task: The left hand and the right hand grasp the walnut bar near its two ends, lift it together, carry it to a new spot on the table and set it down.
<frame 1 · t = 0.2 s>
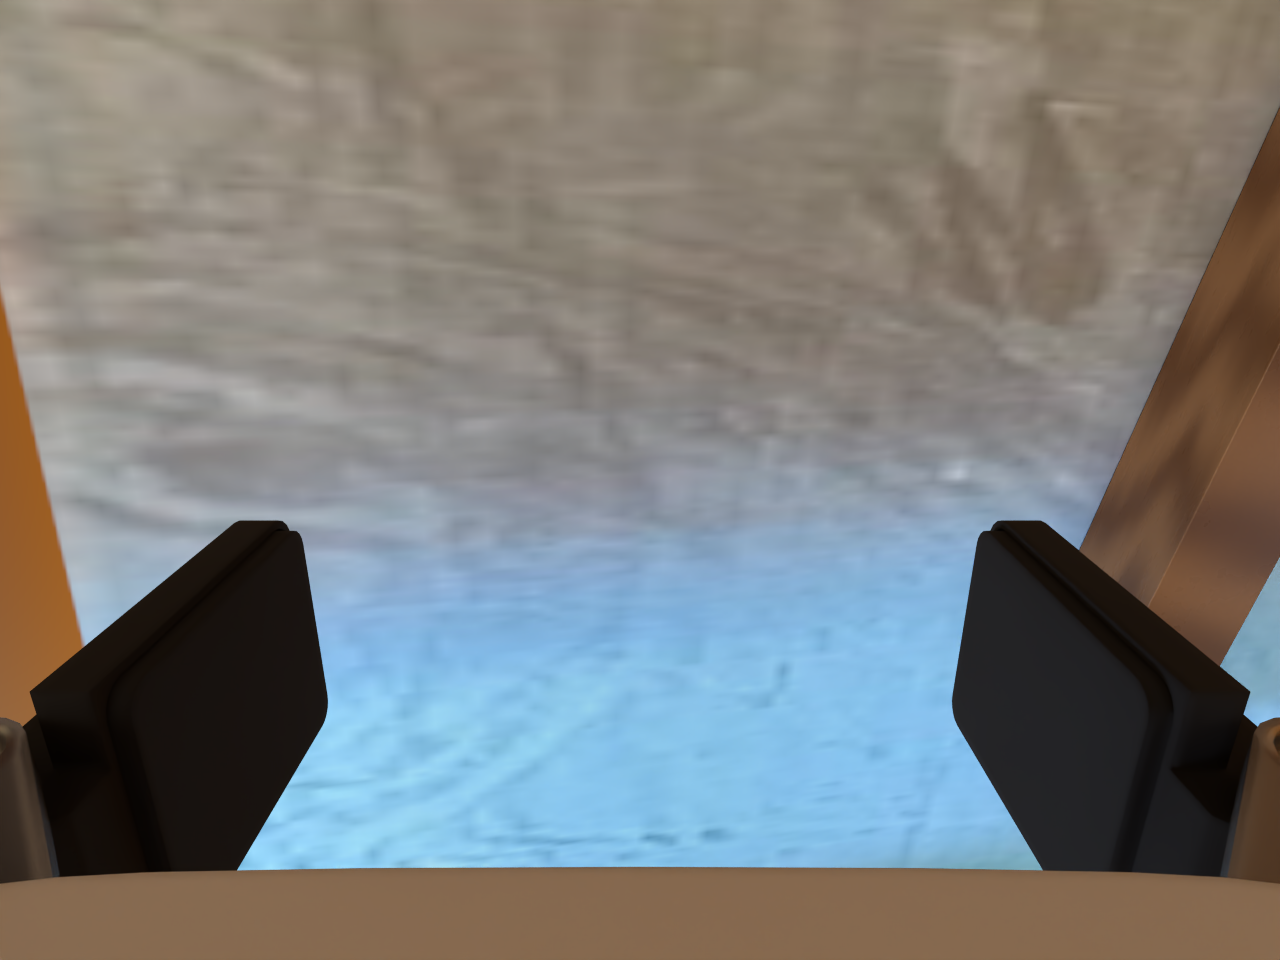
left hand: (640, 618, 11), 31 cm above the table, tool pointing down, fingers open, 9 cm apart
bar: (1226, 334, 41), on the table
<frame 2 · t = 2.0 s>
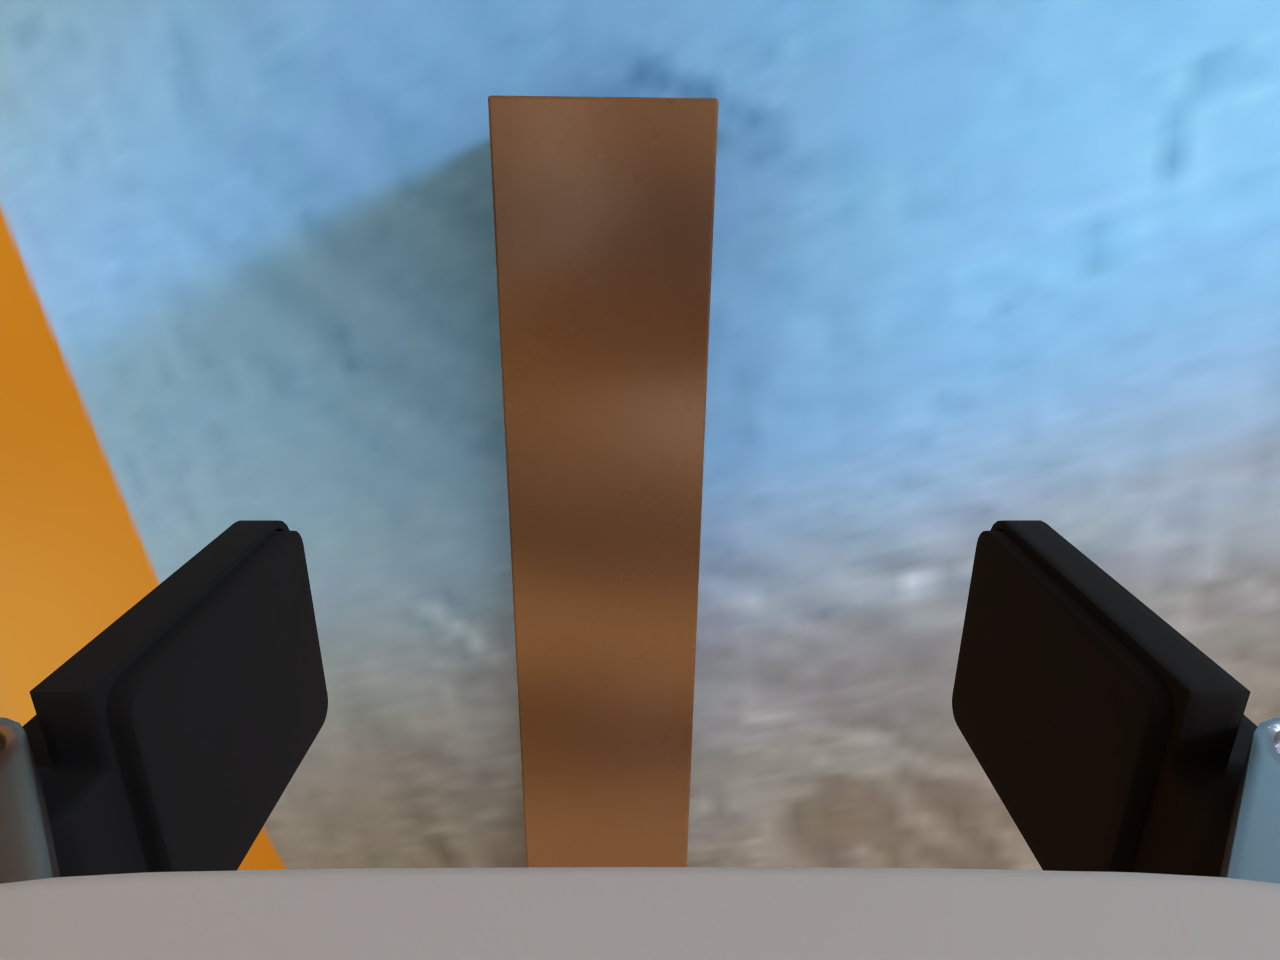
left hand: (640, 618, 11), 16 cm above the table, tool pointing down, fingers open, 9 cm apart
bar: (614, 802, 32), on the table
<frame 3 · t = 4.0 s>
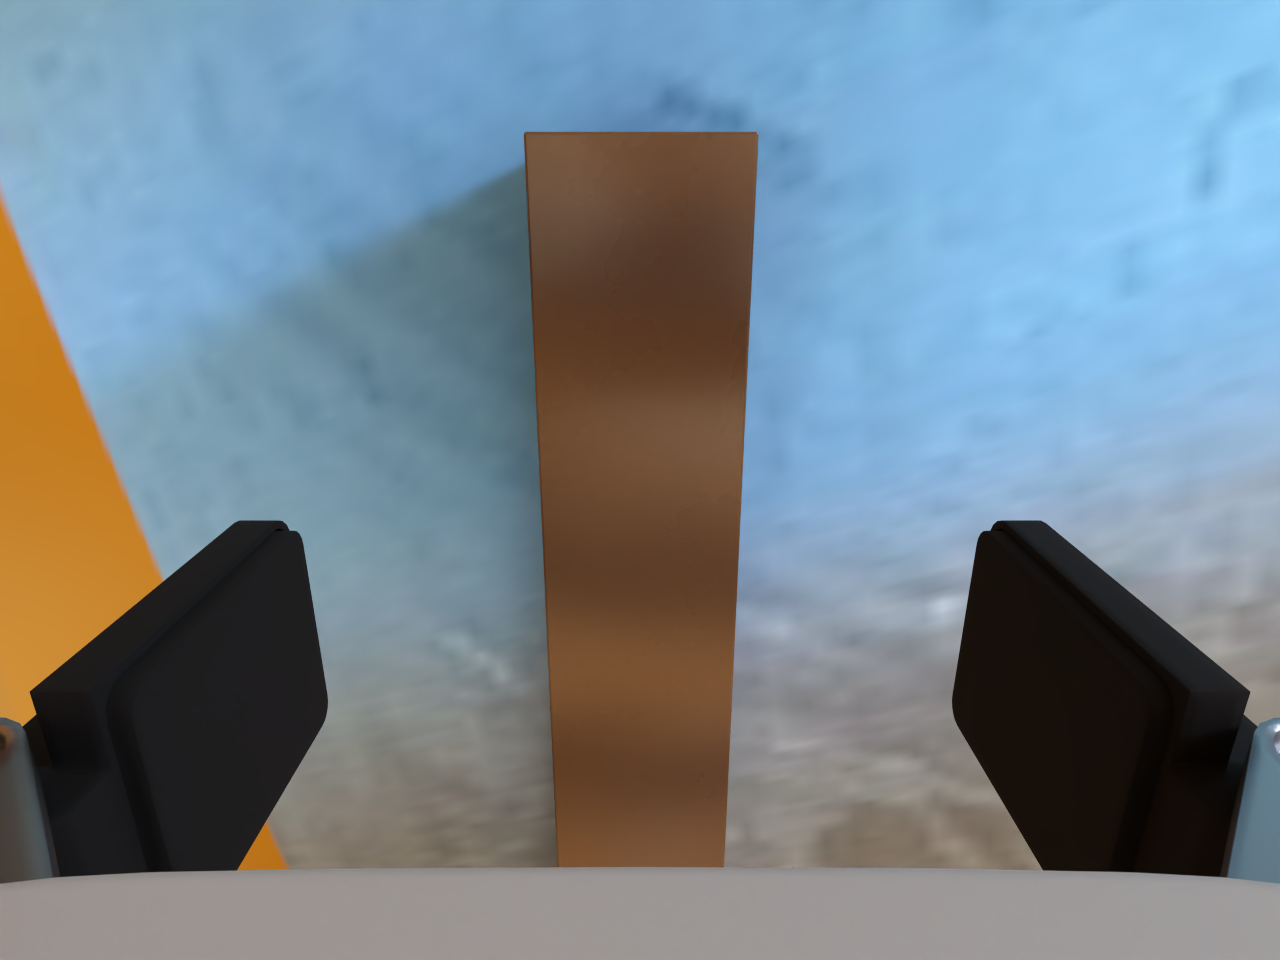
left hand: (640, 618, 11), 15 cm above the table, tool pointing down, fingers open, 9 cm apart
bar: (640, 832, 31), on the table, touching right hand
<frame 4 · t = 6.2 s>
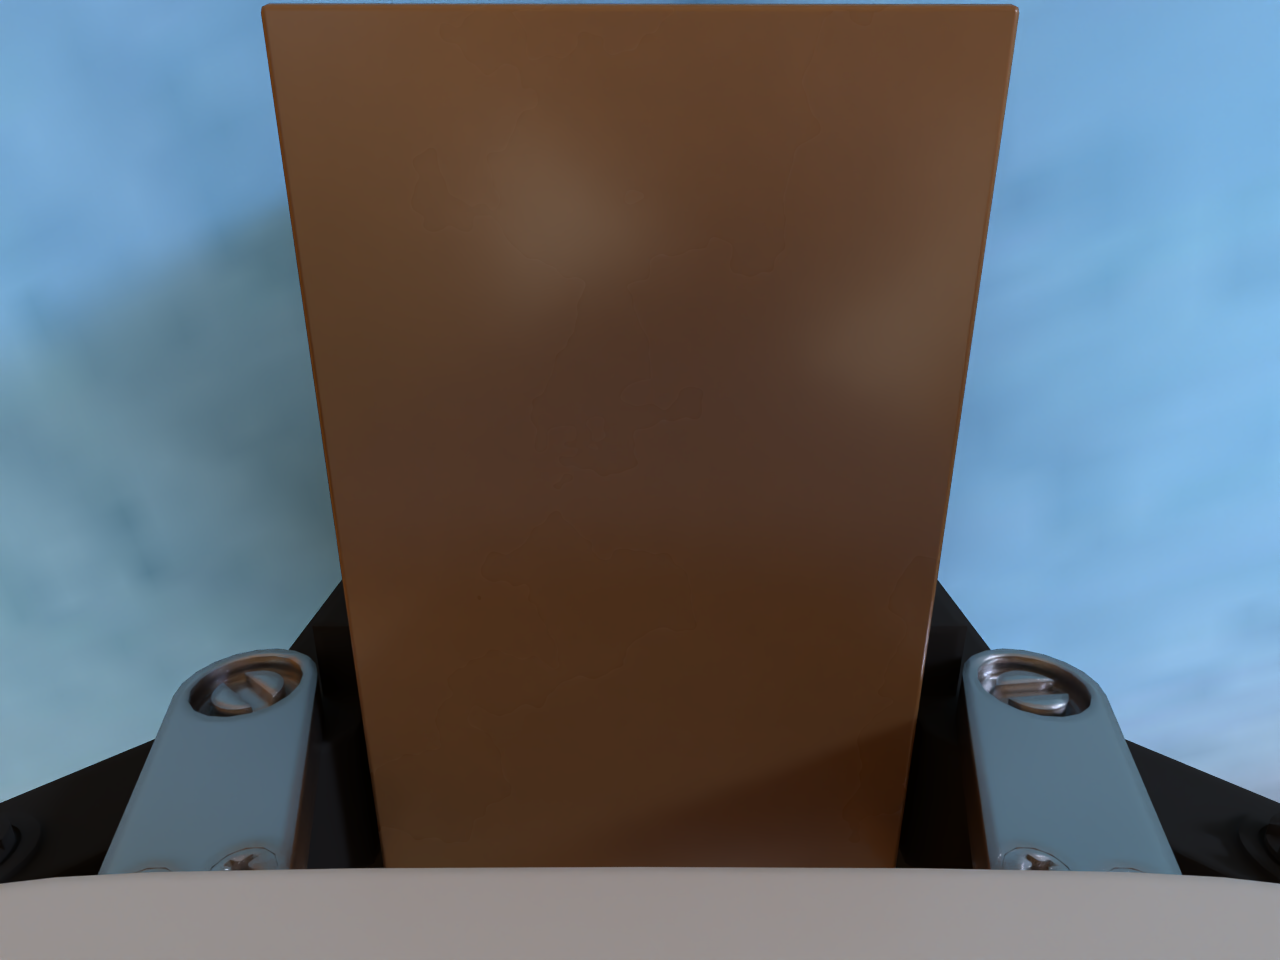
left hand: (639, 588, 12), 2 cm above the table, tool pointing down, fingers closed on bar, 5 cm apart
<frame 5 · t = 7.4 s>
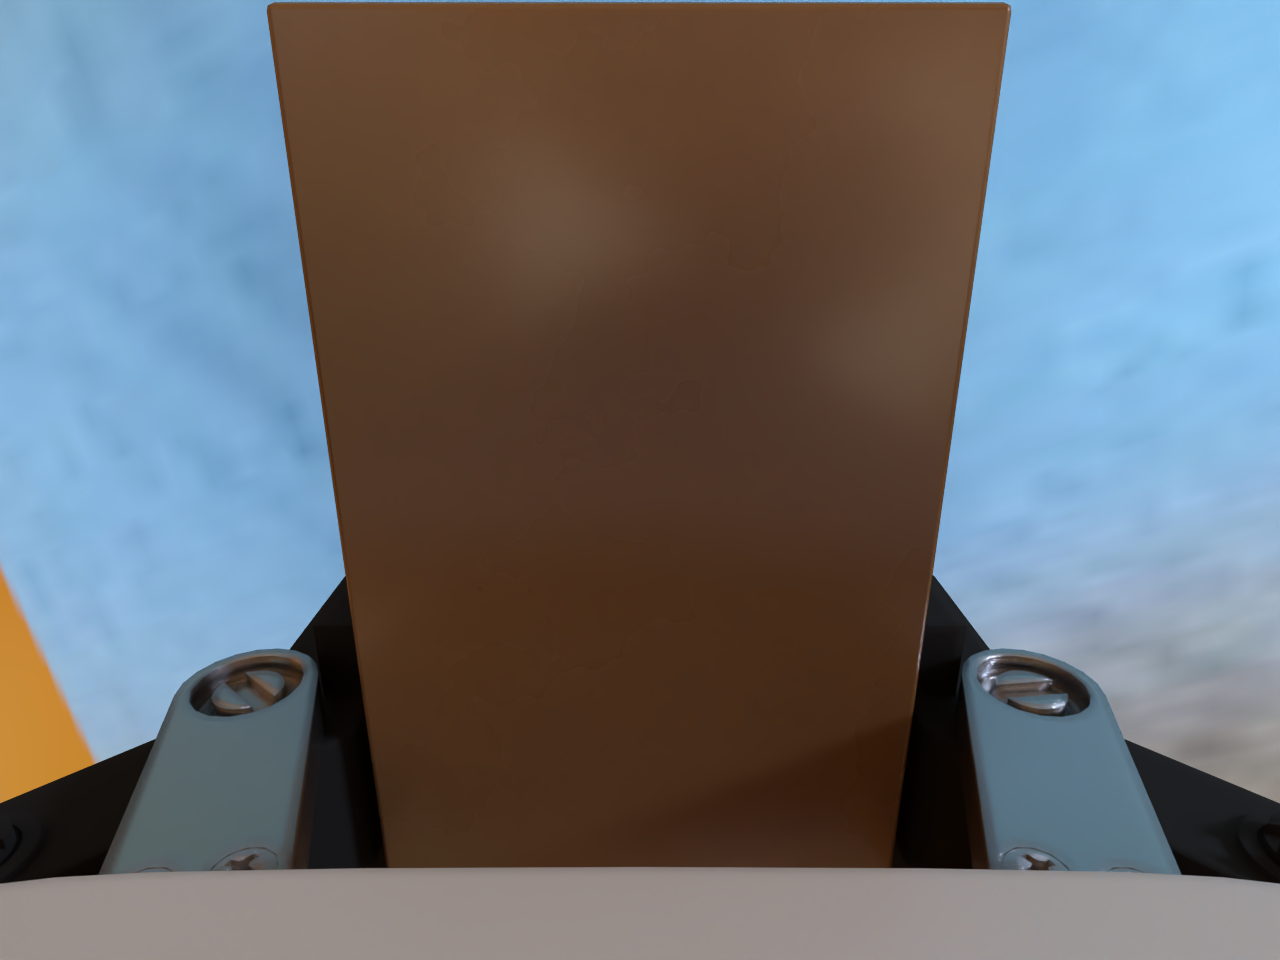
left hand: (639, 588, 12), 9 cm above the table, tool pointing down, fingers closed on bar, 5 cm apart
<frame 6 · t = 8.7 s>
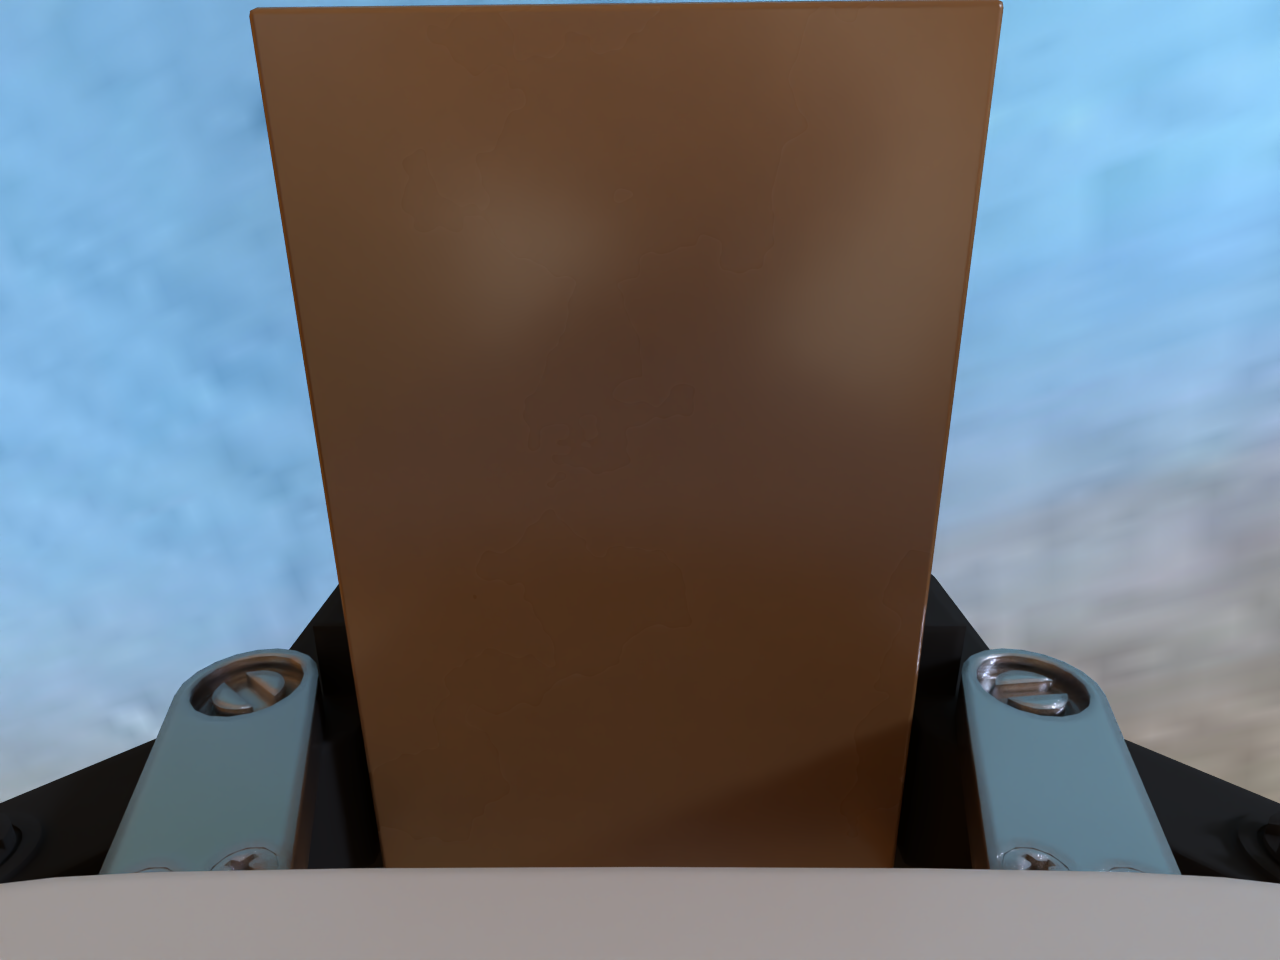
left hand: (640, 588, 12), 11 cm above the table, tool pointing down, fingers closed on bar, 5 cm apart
when the left hand's fingers open (3 cm above the table, at t = 11.1 s): bar drops 1 cm, on the table.
when the right hand's fingers open (4 cm above the table, at t = 11.1 s): bar drops 1 cm, on the table.
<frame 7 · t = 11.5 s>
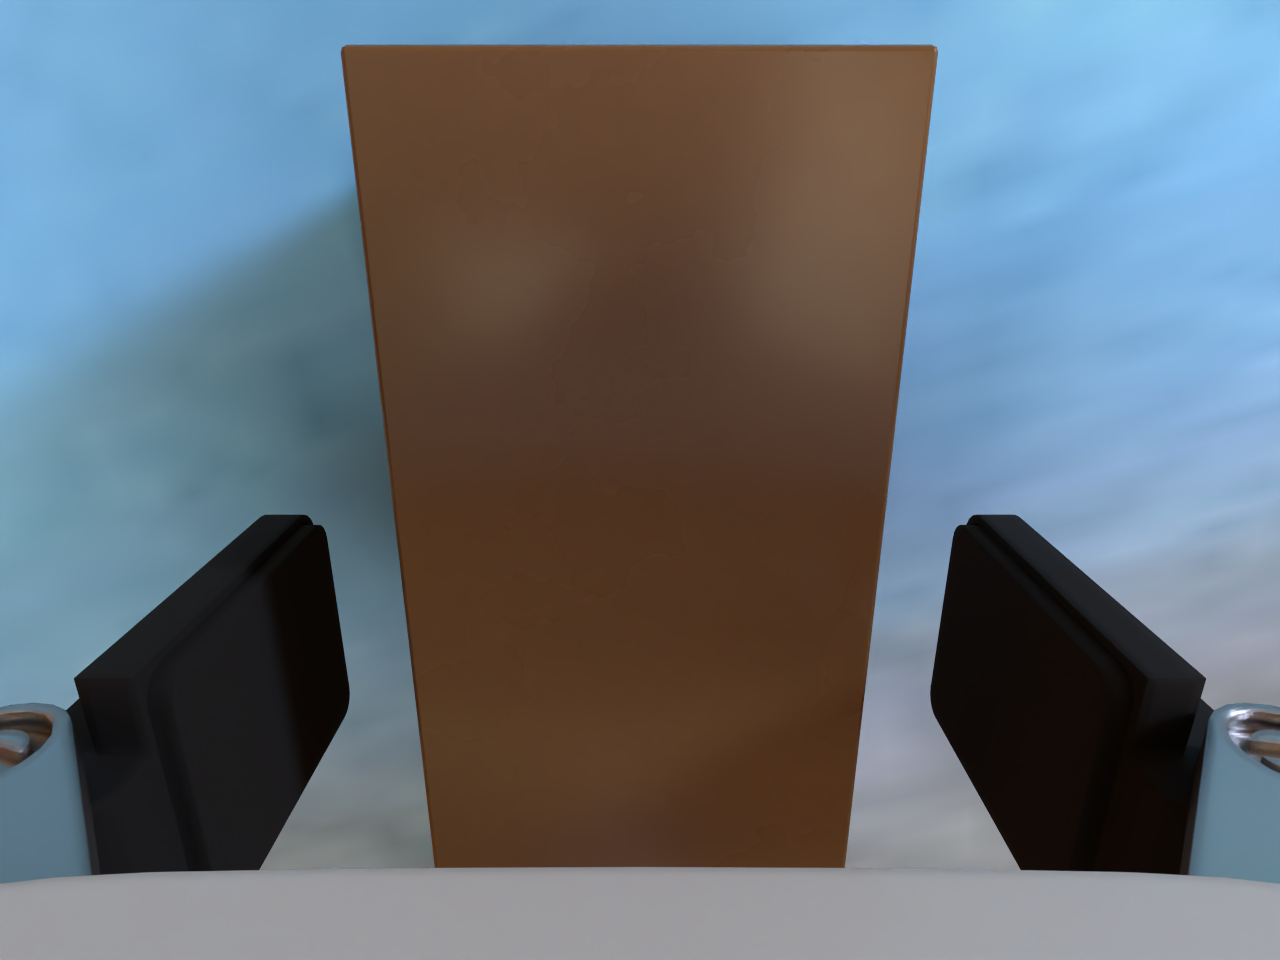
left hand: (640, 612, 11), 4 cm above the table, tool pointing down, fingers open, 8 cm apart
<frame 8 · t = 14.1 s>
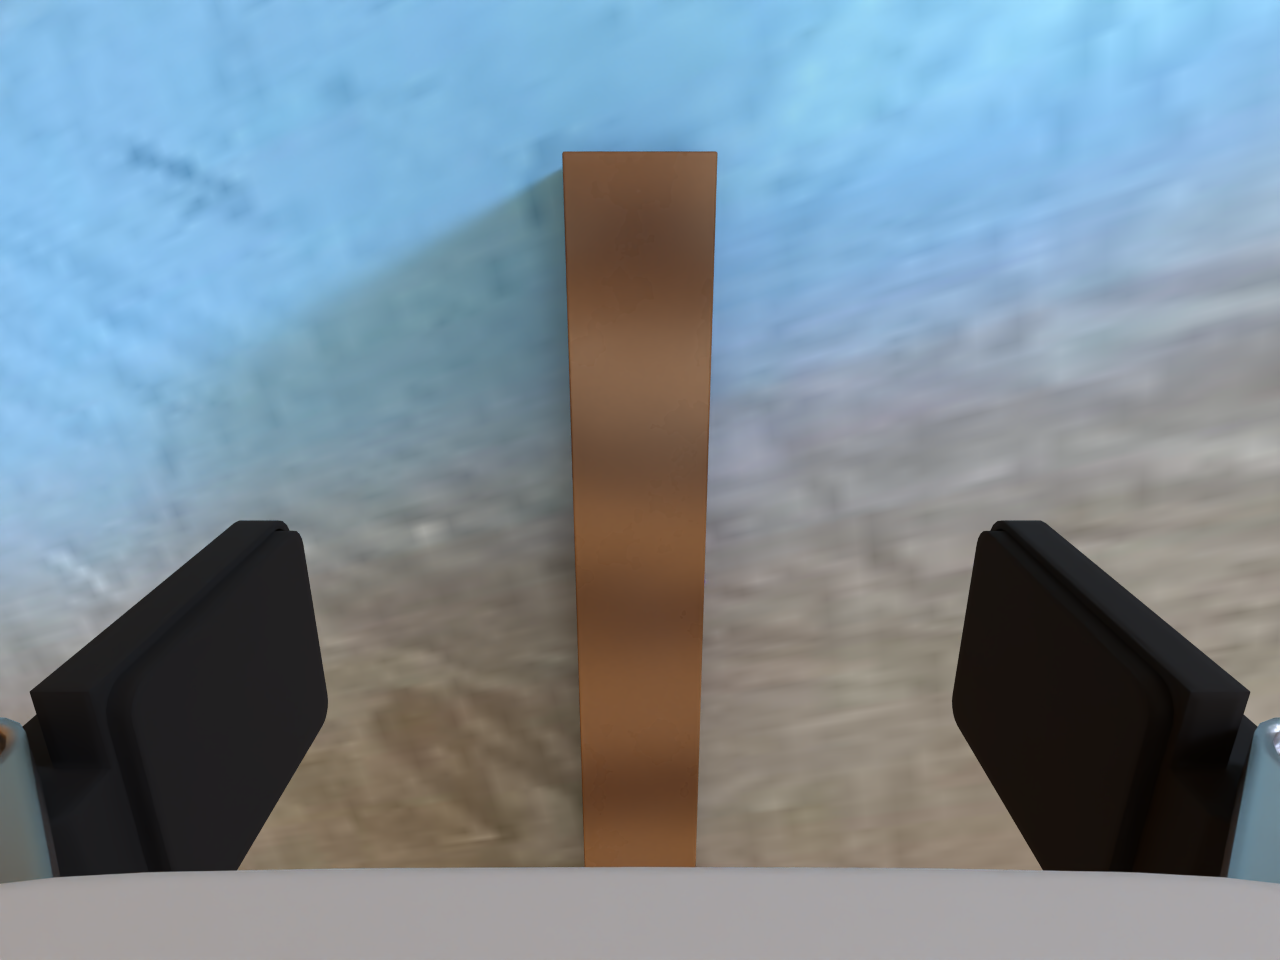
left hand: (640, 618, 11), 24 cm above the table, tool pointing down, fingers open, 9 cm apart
bar: (639, 694, 40), on the table
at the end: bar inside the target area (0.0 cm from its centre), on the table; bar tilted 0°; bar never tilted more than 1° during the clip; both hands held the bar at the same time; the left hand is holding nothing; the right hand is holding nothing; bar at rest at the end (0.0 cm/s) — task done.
